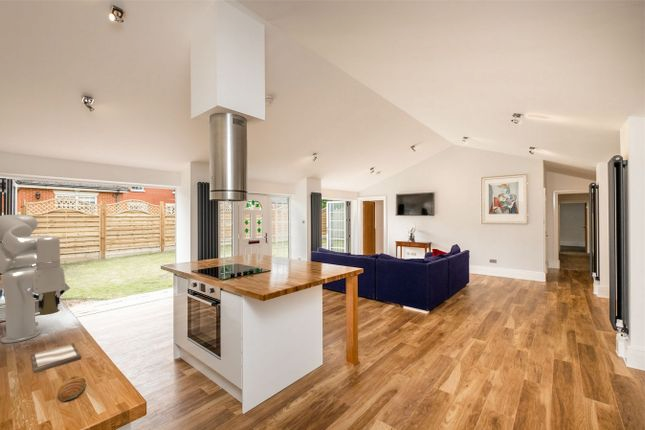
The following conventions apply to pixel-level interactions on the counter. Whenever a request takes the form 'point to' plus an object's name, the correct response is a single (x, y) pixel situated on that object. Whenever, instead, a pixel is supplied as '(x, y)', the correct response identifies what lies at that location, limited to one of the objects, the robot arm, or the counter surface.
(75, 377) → the pastry
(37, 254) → the robot arm
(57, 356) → the silver rectangular plate
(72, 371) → the counter surface
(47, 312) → the cork
